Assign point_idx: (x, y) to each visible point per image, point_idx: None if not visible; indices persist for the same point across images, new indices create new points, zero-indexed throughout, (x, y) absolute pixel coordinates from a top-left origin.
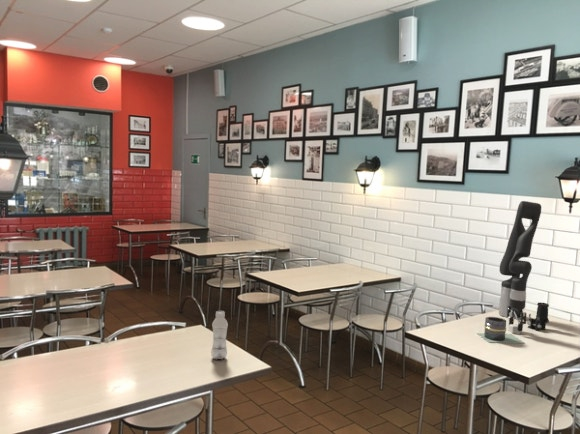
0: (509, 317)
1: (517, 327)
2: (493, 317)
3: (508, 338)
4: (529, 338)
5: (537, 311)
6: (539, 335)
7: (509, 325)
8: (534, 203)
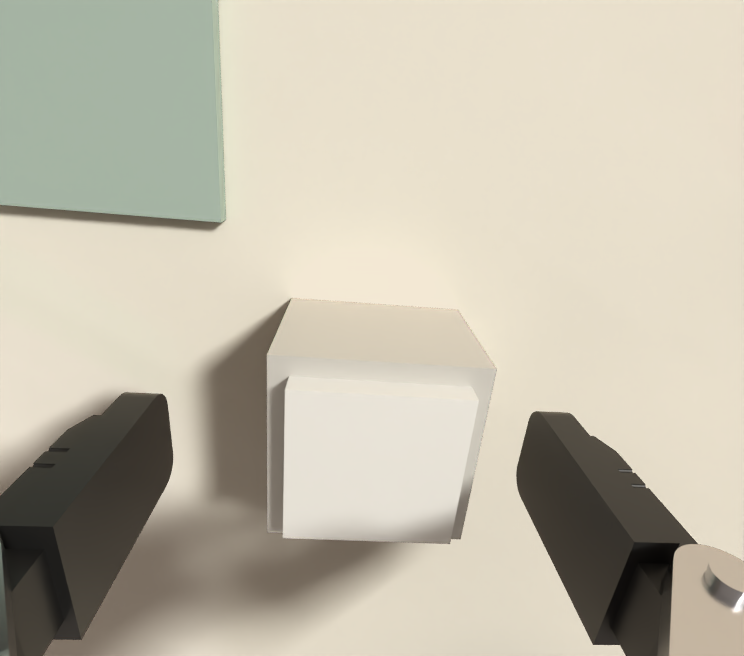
0: (711, 598)
1: (281, 475)
2: None
3: None
4: (35, 453)
5: None
6: (225, 650)
7: (452, 367)
8: None
